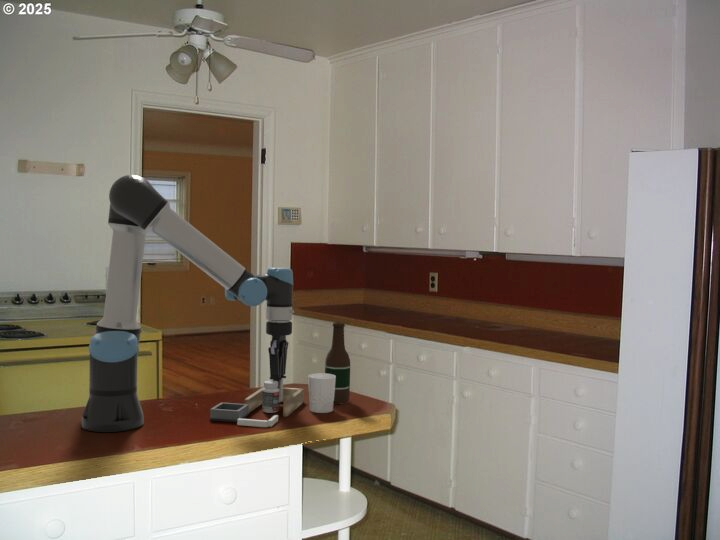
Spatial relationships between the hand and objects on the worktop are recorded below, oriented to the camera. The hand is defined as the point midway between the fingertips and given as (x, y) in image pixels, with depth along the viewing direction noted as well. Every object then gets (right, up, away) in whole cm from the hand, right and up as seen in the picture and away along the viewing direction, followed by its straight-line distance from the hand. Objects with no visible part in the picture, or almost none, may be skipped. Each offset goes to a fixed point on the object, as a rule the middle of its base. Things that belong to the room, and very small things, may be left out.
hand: (277, 401), depth 213 cm
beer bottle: (+17, -2, +7) cm, 19 cm away
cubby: (0, -2, -2) cm, 3 cm away
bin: (-11, -2, -15) cm, 19 cm away
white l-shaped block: (-3, -2, -19) cm, 20 cm away
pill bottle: (-1, -2, -7) cm, 7 cm away
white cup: (+13, -2, -4) cm, 14 cm away
